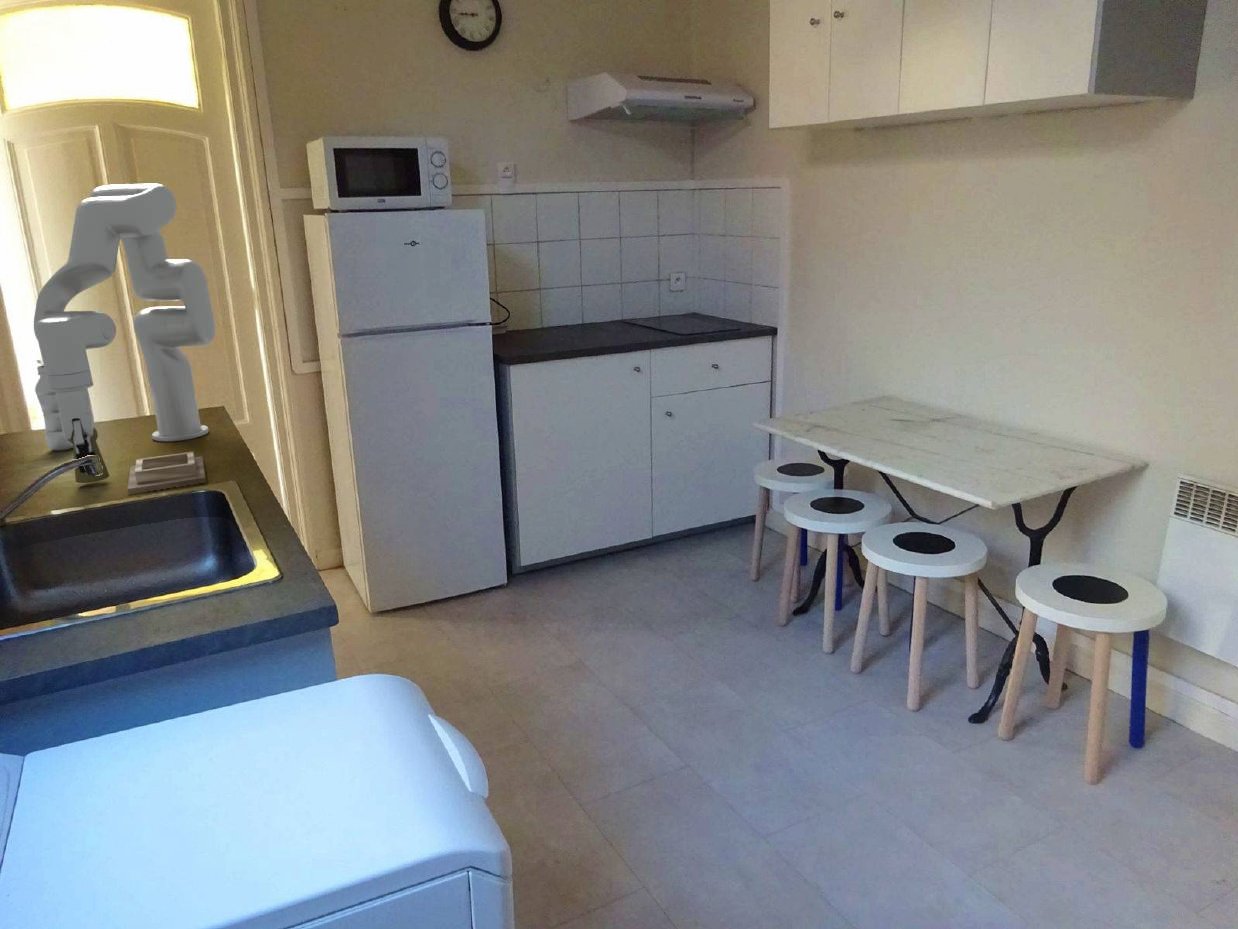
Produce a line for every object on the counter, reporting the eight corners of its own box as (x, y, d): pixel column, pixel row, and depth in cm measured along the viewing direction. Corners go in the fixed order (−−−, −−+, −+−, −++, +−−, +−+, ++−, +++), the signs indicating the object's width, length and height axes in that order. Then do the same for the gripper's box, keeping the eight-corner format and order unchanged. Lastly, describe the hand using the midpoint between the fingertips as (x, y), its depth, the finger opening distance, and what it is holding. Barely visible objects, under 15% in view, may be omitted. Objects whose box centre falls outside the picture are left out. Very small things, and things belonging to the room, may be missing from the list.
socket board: (131, 471, 188) (128, 456, 187) (202, 461, 194) (200, 446, 193) (128, 494, 172) (125, 478, 171) (206, 483, 178) (203, 467, 177)
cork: (116, 474, 181) (105, 423, 177) (91, 484, 175) (78, 431, 172) (94, 472, 183) (82, 421, 179) (68, 481, 177) (56, 429, 174)
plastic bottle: (41, 452, 205) (22, 368, 200) (68, 444, 211) (50, 362, 206) (60, 454, 203) (41, 369, 197) (87, 446, 209) (69, 363, 203)
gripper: (52, 375, 178) (72, 460, 184) (43, 391, 164) (65, 483, 170) (94, 370, 181) (113, 454, 187) (89, 386, 167) (109, 476, 173)
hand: (90, 467), depth 178 cm, fingers closed on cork, 4 cm apart
